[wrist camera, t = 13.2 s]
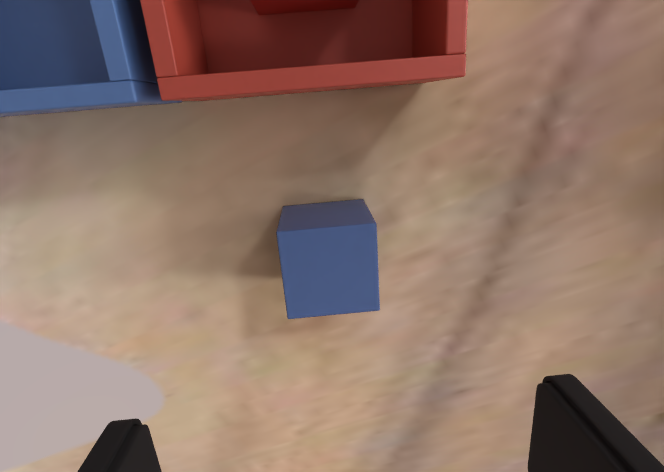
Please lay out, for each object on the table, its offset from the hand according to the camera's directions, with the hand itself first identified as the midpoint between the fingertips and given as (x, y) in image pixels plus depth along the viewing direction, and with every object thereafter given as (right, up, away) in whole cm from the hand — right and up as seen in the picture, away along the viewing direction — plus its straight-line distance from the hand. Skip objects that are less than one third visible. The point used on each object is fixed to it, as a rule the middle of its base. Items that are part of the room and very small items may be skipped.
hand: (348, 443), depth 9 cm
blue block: (-1, +5, +13) cm, 14 cm away
